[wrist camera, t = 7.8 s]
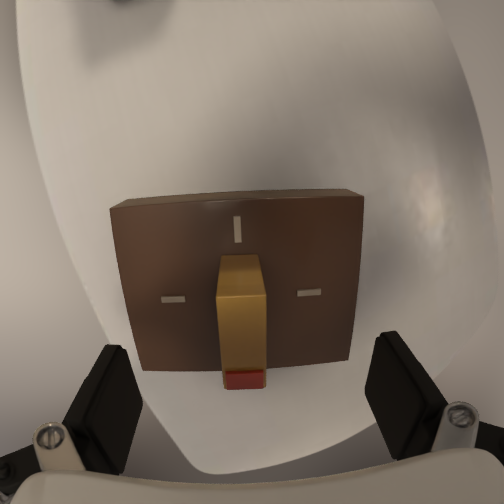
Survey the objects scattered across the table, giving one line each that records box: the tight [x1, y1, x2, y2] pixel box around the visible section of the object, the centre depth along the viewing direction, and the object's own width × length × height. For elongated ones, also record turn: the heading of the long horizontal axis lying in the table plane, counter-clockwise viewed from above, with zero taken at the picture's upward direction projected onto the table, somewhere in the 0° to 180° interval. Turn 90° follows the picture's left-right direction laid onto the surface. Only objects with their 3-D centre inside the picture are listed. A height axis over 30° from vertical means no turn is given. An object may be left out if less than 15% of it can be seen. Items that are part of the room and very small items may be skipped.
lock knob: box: [216, 254, 267, 390], centre depth 15 cm, size 5×2×5 cm, turn 1°
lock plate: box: [110, 189, 364, 371], centre depth 19 cm, size 14×11×3 cm
